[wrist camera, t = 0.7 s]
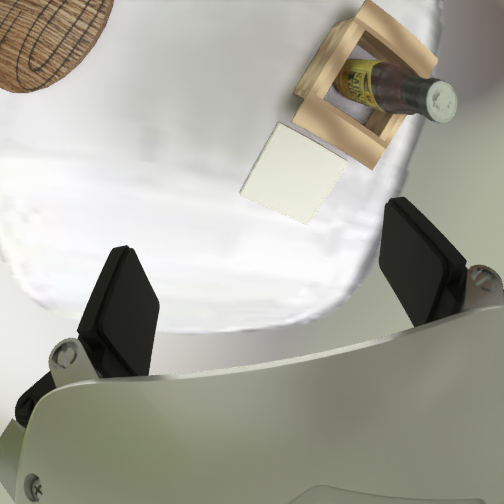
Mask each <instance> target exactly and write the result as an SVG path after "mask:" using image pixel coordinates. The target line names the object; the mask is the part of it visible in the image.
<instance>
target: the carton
mask: <svg viewBox="0 0 504 504" xmlns="http://www.w3.org/2000/svg"><path fill="white" fill-rule="evenodd" d="M356 44H358V45H359V46H360V47H362V48H363V49H365V50H366V51H367V52H369V53H370V54H371V55H373V56H374V57H375V58H376V59H378V60H379V61H389V62H393V63H399V64H404V65H406V66H408V67H410V68H412V69H413V70H414V71H415V72H416V73H417V74H418V75H419V76H420V77H422V78H425V79H428V77H429V76H430V74H431V72H432V70H433V68H434V67H435V65H436V63H437V61H438V59H437V58H436V57H435V56H434V55H433V54H432V53H431V52H430V51H429V50H428V49H427V48H426V47H425V46H424V45H423V44H422V43H421V42H420V41H419V40H418V39H417V38H416V37H415V36H414V35H412V34H411V33H410V32H409V31H408V30H407V29H406V28H405V27H403V26H402V25H401V24H400V23H399V22H398V21H396V20H395V19H394V18H393V17H391V16H390V15H389V14H388V13H386V12H385V11H384V10H383V9H381V8H380V7H379V6H377V5H376V4H375V3H373V2H372V1H371V0H365V1H364V3H363V5H362V6H361V8H360V9H359V11H358V12H357V14H356V15H355V17H353V18H350V19H347V20H344V21H341V22H339V23H336V24H335V25H334V26H333V28H332V29H331V31H330V33H329V34H328V36H327V37H326V39H325V41H324V42H323V44H322V45H321V47H320V49H319V50H318V52H317V54H316V55H315V57H314V58H313V60H312V62H311V63H310V65H309V67H308V68H307V70H306V72H305V73H304V75H303V77H302V78H301V80H300V82H299V83H298V85H297V87H296V88H295V90H294V92H293V93H294V94H296V95H298V96H300V97H301V98H303V99H304V100H303V102H302V104H301V105H300V107H299V109H298V110H297V112H296V114H295V116H294V117H293V119H292V122H293V123H295V124H297V125H299V126H301V127H302V128H304V129H306V130H308V131H310V132H311V133H313V134H315V135H316V136H318V137H320V138H322V139H323V140H325V141H327V142H328V143H330V144H332V145H333V146H335V147H337V148H338V149H340V150H341V151H343V152H345V153H346V154H348V155H349V156H351V157H352V158H354V159H356V160H357V161H359V162H360V163H362V164H363V165H365V166H366V167H368V168H369V169H371V170H373V168H374V167H375V165H376V164H377V162H378V161H379V159H380V157H381V156H382V154H383V153H384V151H385V150H386V148H387V146H388V145H389V143H390V142H391V140H392V138H393V137H394V135H395V133H396V132H397V130H398V129H399V127H400V125H401V124H402V122H403V120H404V119H405V117H406V115H404V114H388V113H385V112H383V111H380V110H377V109H374V111H373V113H372V114H371V116H370V118H369V119H368V121H367V123H366V124H365V126H363V125H362V124H360V123H359V122H357V121H356V120H355V119H353V118H352V117H350V116H349V115H347V114H346V113H344V112H343V111H341V110H340V109H338V108H337V107H335V106H333V105H332V104H330V103H329V102H327V101H325V100H324V99H323V98H324V96H325V95H326V93H327V91H328V90H329V88H330V86H331V85H332V83H333V81H334V80H335V78H336V77H337V75H338V73H339V72H340V70H341V68H342V67H343V65H344V63H345V62H346V60H347V58H348V57H349V55H350V54H351V52H352V50H353V49H354V47H355V45H356Z"/></svg>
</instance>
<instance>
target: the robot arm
mask: <svg viewBox="0 0 504 504" xmlns="http://www.w3.org/2000/svg"><path fill="white" fill-rule="evenodd" d="M466 262H467V261H466V259H465V258H464V257H463V256H462V255H461V254H460V253H459V252H458V250H457V249H456V248H455V247H454V246H453V245H452V244H451V243H450V242H449V241H448V239H447V238H446V237H445V236H444V235H443V234H442V233H441V232H440V231H439V230H438V229H437V228H436V227H435V226H434V225H433V224H432V223H431V222H430V221H429V220H428V219H427V218H426V217H425V216H424V215H423V214H422V213H421V212H420V211H419V210H418V209H417V208H416V207H415V206H414V205H413V204H412V203H411V202H409V201H408V200H407V199H406V198H405V197H398V198H391V199H389V201H388V203H386V204H385V210H384V221H383V230H382V239H381V247H380V255H379V266H380V269H381V271H382V272H383V274H384V275H385V277H386V279H387V280H388V282H389V283H390V285H391V287H392V289H393V290H394V292H395V294H396V295H397V297H398V299H399V301H400V302H401V304H402V306H403V307H404V309H405V311H406V313H407V315H408V317H409V318H410V320H411V322H412V324H413V325H414V328H411V329H408V330H404V331H401V332H398V333H394V334H391V335H387V336H384V337H380V338H377V339H373V340H369V341H365V342H362V343H358V344H354V345H350V346H345V347H341V348H337V349H333V350H328V351H324V352H320V353H315V354H310V355H305V356H300V357H295V358H290V359H284V360H279V361H273V362H267V363H261V364H254V365H247V366H240V367H233V368H226V369H218V370H210V371H200V372H190V373H179V374H166V375H152V376H149V368H150V362H151V354H152V349H153V342H154V337H155V331H156V325H157V319H158V314H159V308H160V306H159V301H158V298H157V296H156V294H155V292H154V290H153V288H152V286H151V284H150V282H149V280H148V278H147V276H146V274H145V272H144V270H143V268H142V265H141V263H140V261H139V259H138V257H137V255H136V252H135V250H134V249H133V248H129V247H128V246H127V245H125V246H120V247H116V248H113V249H112V250H111V252H110V254H109V256H108V258H107V261H106V263H105V265H104V267H103V269H102V271H101V273H100V276H99V278H98V280H97V282H96V285H95V287H94V289H93V292H92V294H91V296H90V299H89V301H88V303H87V306H86V308H85V311H84V313H83V316H82V318H81V321H80V324H79V327H78V329H77V332H78V333H79V336H78V339H76V338H68V339H64V340H63V341H61V342H59V343H58V344H57V345H56V346H55V347H54V349H53V350H52V351H51V354H50V356H49V368H50V371H49V372H48V373H47V374H46V375H44V376H43V377H42V378H41V379H40V380H39V381H37V382H36V383H35V384H34V385H33V386H32V387H31V388H30V389H28V390H27V391H26V392H25V393H24V394H23V395H22V396H21V397H20V398H19V399H18V401H17V404H16V407H15V417H16V421H15V420H14V419H12V420H11V421H10V423H9V424H8V426H7V427H6V429H5V430H4V432H3V433H2V435H1V437H0V482H1V483H2V485H3V486H4V488H5V489H6V490H7V492H8V493H9V495H10V496H11V498H12V499H13V500H14V502H15V504H504V289H503V283H502V279H501V278H500V276H499V275H498V274H497V273H496V272H495V271H494V270H493V269H491V268H490V267H487V266H484V265H474V266H471V267H470V268H469V269H467V268H466V266H465V265H466Z"/></svg>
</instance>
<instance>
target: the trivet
mask: <svg viewBox="0 0 504 504" xmlns="http://www.w3.org/2000/svg"><path fill="white" fill-rule="evenodd" d="M113 2H114V0H0V88H2V89H4V90H7V91H9V92H12V93H29V92H33V91H36V90H39V89H43V88H46V87H49V86H50V85H52V84H54V83H55V82H57V81H59V80H60V79H62V78H64V77H65V76H66V75H67V74H68V73H70V72H71V71H72V70H73V69H74V68H75V67H76V66H78V65H79V64H80V63H81V62H82V60H83V59H84V58H85V56H86V55H87V54H88V53H89V52H90V50H91V49H92V48H93V47H94V46H95V44H96V42H97V40H98V38H99V37H100V35H101V33H102V31H103V30H104V28H105V26H106V24H107V21H108V18H109V15H110V13H111V10H112V7H113Z"/></svg>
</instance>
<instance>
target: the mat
mask: <svg viewBox="0 0 504 504" xmlns="http://www.w3.org/2000/svg"><path fill="white" fill-rule="evenodd" d="M348 163H349V162H348V161H346V160H345V159H343V158H341V157H340V156H338V155H337V154H335V153H333V152H332V151H330V150H328V149H326V148H325V147H323V146H321V145H320V144H318V143H316V142H314V141H313V140H311V139H309V138H307V137H306V136H304V135H302V134H300V133H298V132H296V131H295V130H293V129H291V128H289V127H287V126H285V125H283V124H281V123H279V122H278V124H277V126H276V127H275V129H274V131H273V133H272V135H271V136H270V138H269V140H268V142H267V143H266V145H265V147H264V149H263V151H262V152H261V154H260V156H259V158H258V160H257V162H256V163H255V165H254V167H253V169H252V171H251V172H250V174H249V176H248V178H247V180H246V182H245V184H244V185H243V187H242V189H241V191H240V196H242V197H244V198H247V199H249V200H252V201H254V202H256V203H258V204H261V205H263V206H265V207H268V208H270V209H272V210H274V211H277V212H279V213H281V214H284V215H286V216H288V217H290V218H292V219H295V220H297V221H299V222H301V223H303V224H306V225H309V223H310V222H311V220H312V219H313V217H314V216H315V214H316V213H317V211H318V210H319V208H320V206H321V205H322V203H323V202H324V200H325V199H326V197H327V196H328V194H329V193H330V191H331V190H332V188H333V186H334V185H335V183H336V182H337V180H338V179H339V177H340V176H341V174H342V172H343V171H344V169H345V168H346V166H347V165H348Z"/></svg>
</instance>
